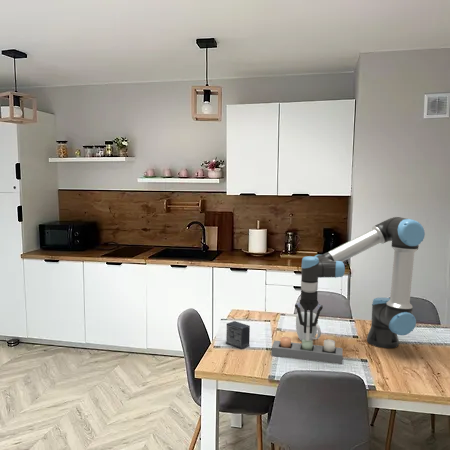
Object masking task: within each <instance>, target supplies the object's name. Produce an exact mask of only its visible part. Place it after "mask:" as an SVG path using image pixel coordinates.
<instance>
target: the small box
mask: <svg viewBox="0 0 450 450" xmlns="http://www.w3.org/2000/svg"><path fill="white" fill-rule="evenodd" d="M250 328H251V326H250V325H248V324H245V323H242V322H239V321H236V320H234V321H231V322H227V323H226V334H225V336H226V340H225V344H227V345H229V346H232V347H234V348H238V349H240V350H242V349H243V350H244V349H245V348H247V347H249V346H250V338H251V337H250V330H251V329H250Z"/></svg>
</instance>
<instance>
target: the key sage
mask: <svg viewBox="0 0 450 450" xmlns="http://www.w3.org/2000/svg"><path fill="white" fill-rule="evenodd" d="M301 343H302V350H309V351H312V348H313V345H314V340H313V341H312V340H309V341H306V339H303V340H302V341H301Z"/></svg>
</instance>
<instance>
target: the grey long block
mask: <svg viewBox="0 0 450 450" xmlns="http://www.w3.org/2000/svg"><path fill="white" fill-rule="evenodd" d="M270 350H271V351H270V353H271V356H272V357H280V358H285V359H286V358H288V359H295V360H296V359H297V360H305V361H313V362H320V363H328V364H338V365H343V347H339V346H338V347H336V346H335V351H334V352H327V351H324V345H320V344H319V345H318V344H313V348H312V351H309V350H302V342H301V343H299V342H294V341H293V342H292V341H291V348H283V347H280V340H273V343H272V346H271V349H270Z"/></svg>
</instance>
